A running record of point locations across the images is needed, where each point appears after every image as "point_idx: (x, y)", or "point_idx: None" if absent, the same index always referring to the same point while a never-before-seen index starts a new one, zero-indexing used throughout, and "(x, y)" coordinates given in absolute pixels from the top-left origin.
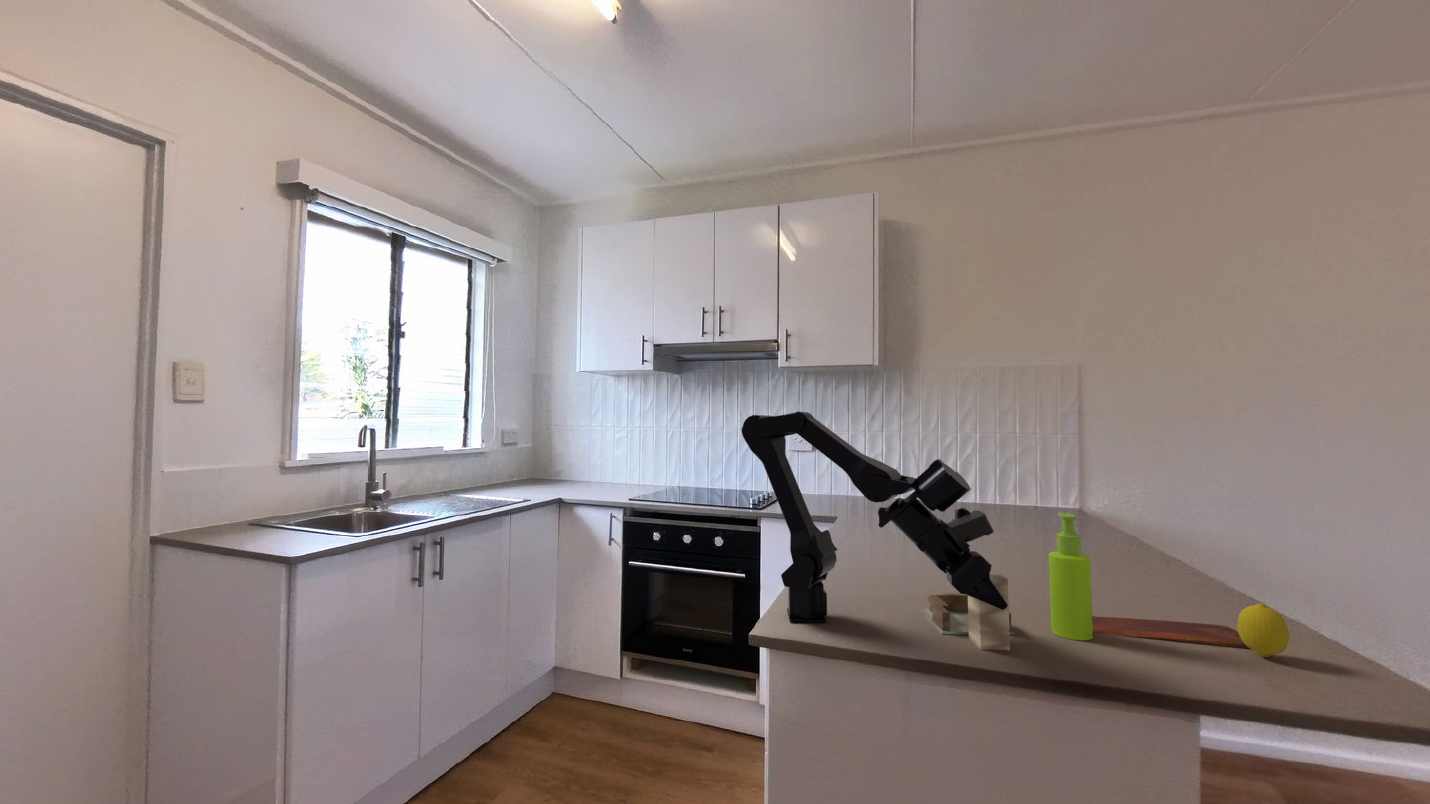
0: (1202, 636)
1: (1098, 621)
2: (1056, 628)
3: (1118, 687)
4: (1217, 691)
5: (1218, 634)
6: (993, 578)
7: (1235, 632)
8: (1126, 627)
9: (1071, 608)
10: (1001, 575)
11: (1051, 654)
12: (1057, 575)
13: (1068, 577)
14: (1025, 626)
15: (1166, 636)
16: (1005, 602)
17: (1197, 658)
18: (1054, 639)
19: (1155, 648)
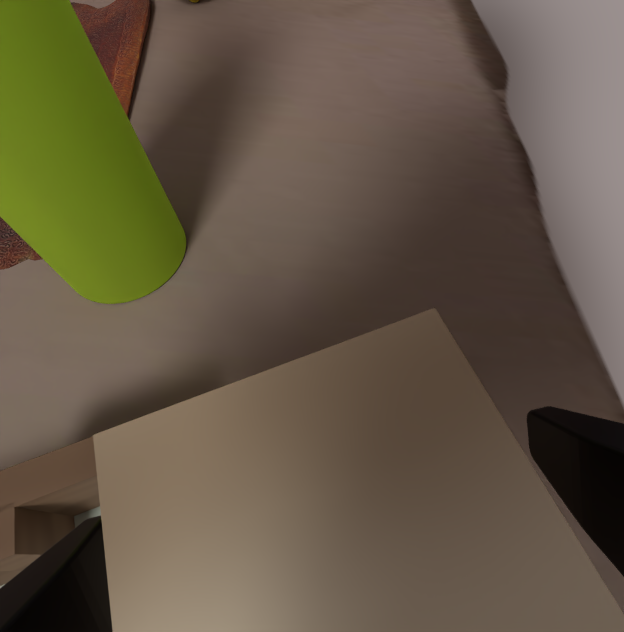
0: (126, 34)
1: None
2: (139, 280)
3: (535, 201)
4: (425, 67)
5: (108, 16)
6: (520, 473)
7: (77, 3)
8: None
9: (138, 175)
10: (294, 365)
11: (356, 326)
12: (14, 72)
13: (60, 39)
14: (68, 384)
15: (127, 81)
16: (577, 415)
17: (238, 66)
18: (195, 304)
19: (197, 111)
